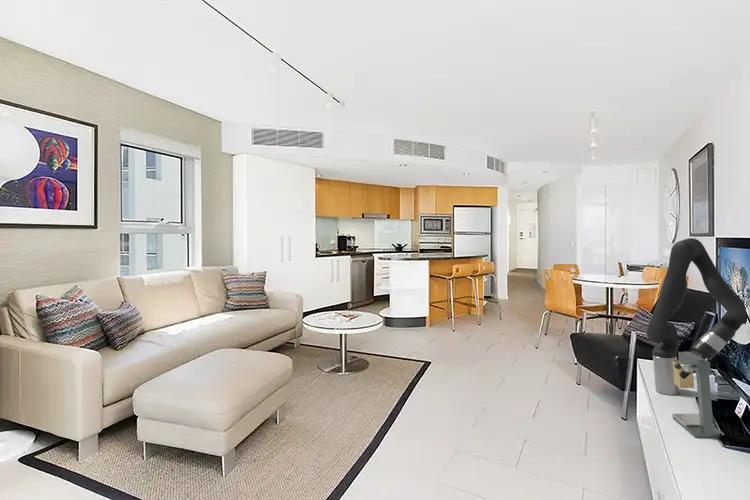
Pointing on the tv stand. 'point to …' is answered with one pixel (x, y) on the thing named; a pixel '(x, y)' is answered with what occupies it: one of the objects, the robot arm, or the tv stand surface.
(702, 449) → the tv stand surface
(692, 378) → the block
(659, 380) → the robot arm
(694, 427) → the arbor press
